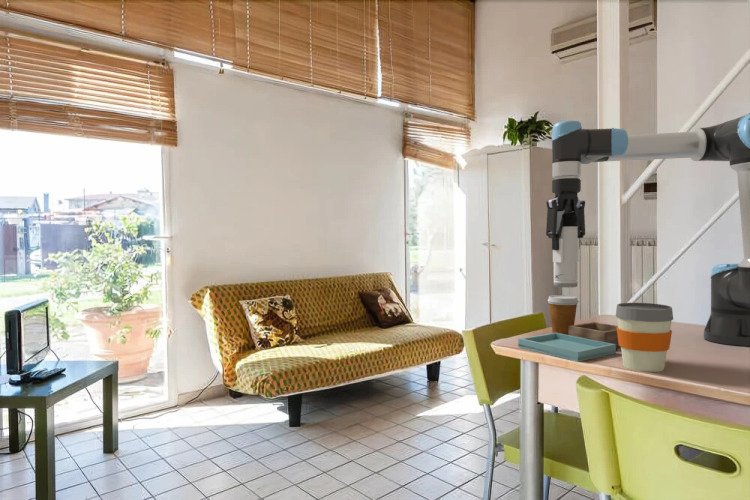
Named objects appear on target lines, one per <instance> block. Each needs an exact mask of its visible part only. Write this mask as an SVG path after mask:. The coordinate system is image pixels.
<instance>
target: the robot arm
mask: <svg viewBox="0 0 750 500" xmlns="http://www.w3.org/2000/svg"><path fill="white" fill-rule="evenodd" d="M551 134H552V136H551V157H552V158H551V162H552V167H551V168H552V169H551V170H552V171H551V172H552V176H551V177H552V178H553V179H552V181H551V192H552V193H553V194H554V197H553V199H547V200H546V201H545V202H546V203H545V204H546V208H547V212H546V213H547V214H546V229H545V236H547V237H548V239H551V249H552V263H554V262H563V239H559V238H560V237H561V232H562V228H563V216H564V215H565V214H571V215H574V216H577V227H578V228H577V229H578V247H577V262H579V261H580V244H581V243H580V241H581V239H583V238H584V237H585V235H586V218H585V206H586V200H580V199H579V197H578V193H580V192H581V191H582V186H581V185H582V184H581V183H582V182H581V181H582V179H580V177H582V165H587V164H590V163H602V162H604V163H605V162H619V161H621V162H622V161H623V162H624V161H625V162H626V161H643V160H644V161H645V160H646V161H647V160H668V159H669V160H672V159H689V158H690V159H691V160H692V161H693V162H694V161H695V162H699V161H700V162H702V161H703V162H704V161H705V162H706V161H707V162H729V167H730V169H732V170H734V171H735V172H736V175H737V186H738V187H737V188H738V200H739V201H738V202H739V211H740V212H739V213H740V222H741V224H740V227H741V238H742V248H743V249H742V250H743V252H742V253H743V258H742V260H741V261H740V262H739V263H724V264H715V265H713V267H711V273H710V315H709V317H708V320H707V322H706V325H705V327H704V330H703V339H704V340H706V341H709V342H712V343H718V344H722V345H723V344H724V345H729V346H730V345H731V346H739V347H740V346H741V347H743V346H744V347H750V113H747V114H745V115H742V116H739V117H737V118H734V119H731V120H727V121H724V122H721V123H719V124H715V125H710V126H707V127H696V128H694V129H693V130H692V131H687V132H686V131H683V132H664V133H663V132H662V133H644V134H643V133H641V134H628V133H627V130H625V129H623V128H614V127H611V128H587V129H586V128H583V126H582V123H581V122H580V121H578V120H564V121H560V122H559V121H558V122H556V123H555V124H554V125H553V126H552V133H551ZM556 232H557V233H556Z"/></svg>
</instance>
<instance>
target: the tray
mask: <svg viewBox="0 0 750 500" xmlns="http://www.w3.org/2000/svg"><path fill="white" fill-rule="evenodd" d="M517 340H518V341H517V342H518V343H517V347H518V348H519V347H520V349H523V348H524V350H527V349H528V351H532V352H536V353H540V354H544V355H549V356H553V357H557V358H561V359H566V360H570V361H573V362H582V361H583V362H584V361H587V360H592V359H597V358H601V357H607V356H611V355H614V354H615V353H617V352H616V351H617V350H616V349H617V348H616V344H611V343H606V342H601V341H596V340H591V339H586V338H581V337H576V336H571V335H565V334H560V333H553V332H551V333H550V332H549V333H545V334H544V333H543V334H538V335H533V336H526V337H521V338H520V337H519V338H518V339H517ZM615 355H616V354H615Z"/></svg>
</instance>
